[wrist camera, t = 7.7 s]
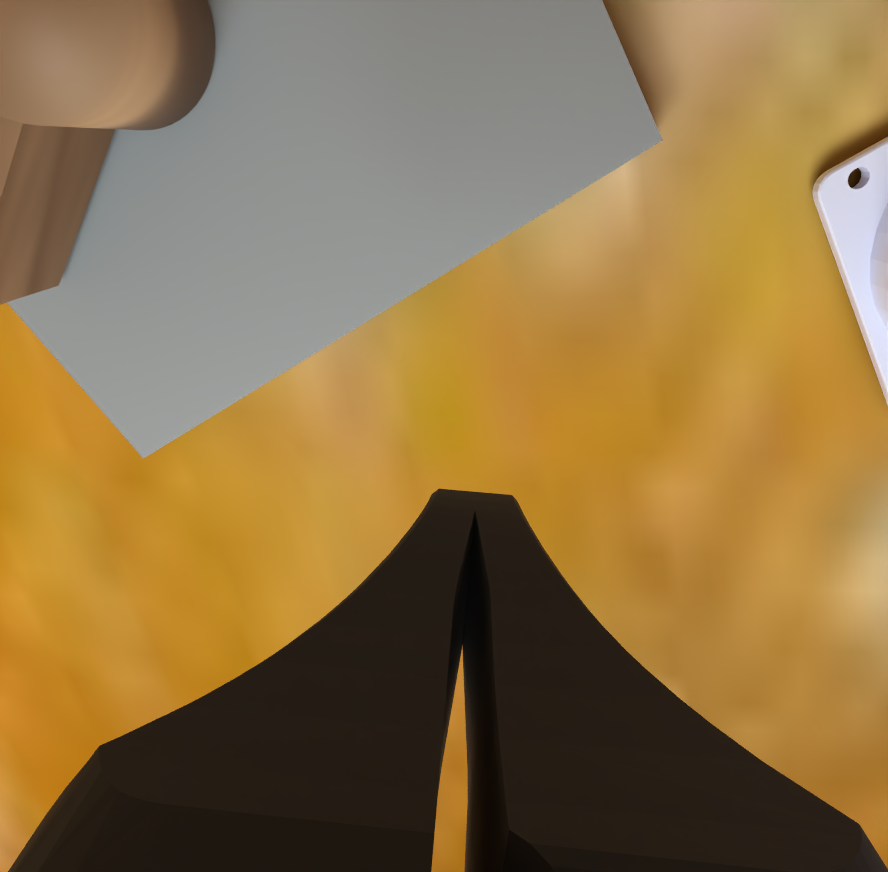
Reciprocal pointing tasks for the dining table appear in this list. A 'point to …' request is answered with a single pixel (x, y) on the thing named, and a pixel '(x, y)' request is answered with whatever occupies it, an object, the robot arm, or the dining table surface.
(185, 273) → the grey board
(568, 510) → the dining table surface
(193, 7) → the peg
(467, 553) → the robot arm
